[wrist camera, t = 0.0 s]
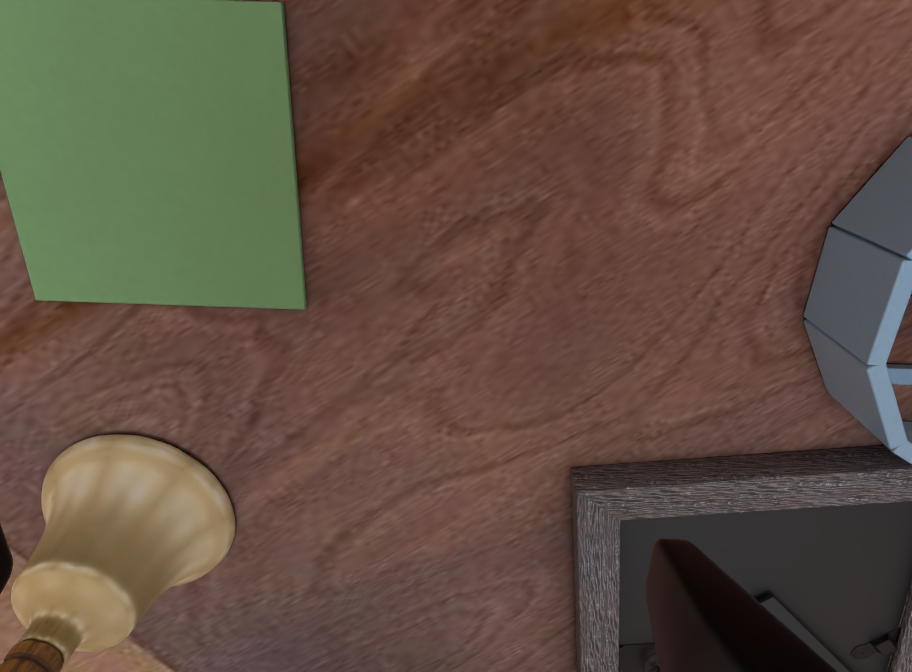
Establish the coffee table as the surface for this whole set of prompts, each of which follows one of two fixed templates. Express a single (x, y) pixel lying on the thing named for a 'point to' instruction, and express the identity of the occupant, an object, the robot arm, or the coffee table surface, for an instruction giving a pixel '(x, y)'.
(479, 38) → the coffee table surface
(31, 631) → the hand bell
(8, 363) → the coffee table surface
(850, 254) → the pan
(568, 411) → the coffee table surface
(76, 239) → the green square coaster
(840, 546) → the picture frame
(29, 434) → the coffee table surface
